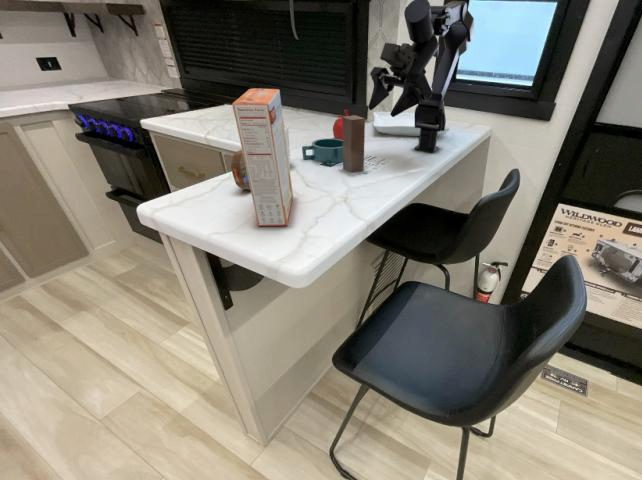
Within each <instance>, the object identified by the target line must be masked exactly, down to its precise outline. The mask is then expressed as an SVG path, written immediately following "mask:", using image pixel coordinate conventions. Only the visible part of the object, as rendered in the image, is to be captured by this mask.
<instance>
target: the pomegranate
mask: <svg viewBox="0 0 642 480" xmlns="http://www.w3.org/2000/svg"><path fill="white" fill-rule="evenodd" d="M343 112H344V115H341V114H339V115H337V117H338V118H336V119H335V121H334V122H333V124H332V134H333V139H340V140H343V121H342V117H346V116H349V114H348V109H344V111H343ZM355 115H356V114H352V115H350V116H355Z"/></svg>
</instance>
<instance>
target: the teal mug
mask: <svg viewBox="0 0 642 480" xmlns="http://www.w3.org/2000/svg"><path fill="white" fill-rule="evenodd" d="M301 151H302V152H301V153H302V159H303V160H314V161H315V162H318V163H321V164H341V163H343V140H340V139H335V138H318V139H316V140H313V141H312V142H311V145H303V146H301ZM307 151H311V154H307Z"/></svg>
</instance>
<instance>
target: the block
mask: <svg viewBox="0 0 642 480" xmlns="http://www.w3.org/2000/svg"><path fill="white" fill-rule="evenodd" d="M354 115H355V116H351V115H348V116H346V117H345V116H344V117H341V118H342V121H343V162H342V169H343V170H344V171H346V172H348V173H350V174H354V173H359V172H363V171H364V170H365V167H364V166H365V134H366V133H365V132H366V117H365V118H364V117H362V116H358V115H356V114H354Z"/></svg>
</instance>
